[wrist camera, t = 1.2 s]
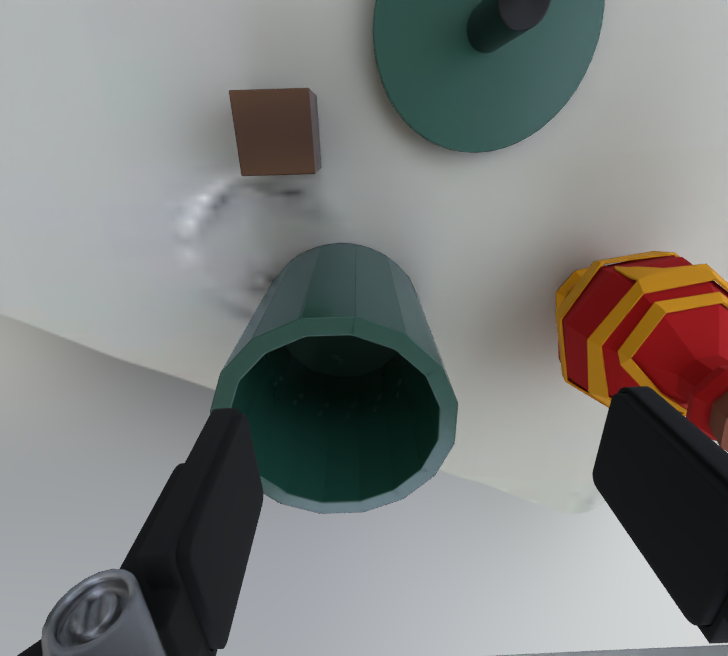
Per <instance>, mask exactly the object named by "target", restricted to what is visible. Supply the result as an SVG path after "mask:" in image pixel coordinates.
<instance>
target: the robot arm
mask: <svg viewBox="0 0 728 656" xmlns="http://www.w3.org/2000/svg"><path fill="white" fill-rule="evenodd" d="M593 481H594V484H595V486H596V488H597V489H598V491H599V492H600V493H601V495H602V496H603V498H604V499H605V501H606V502H607V503H608V505H609V507H610V508H611V510H612V511H613V512H614V514H615V515H616V517H617V518H618V520H619V521H620V523H621V524H622V526H623V527H624V528H625V530H626V531H627V533H628V534H629V536H630V537H631V538H632V540H633V542H634V543H635V545H636V546H637V547H638V549H639V550H640V552H641V553H642V555H643V556H644V558H645V559H646V561H647V562H648V564H649V565H650V567H651V568H652V569H653V571H654V572H655V574H656V575H657V577H658V578H659V580H660V581H661V583H662V584H663V585H664V587H665V588H666V590H667V591H668V593H669V594H670V596H671V597H672V599H673V600H674V601H675V603H676V605H677V606H678V607H679V609H680V610H681V612H682V613H683V615H684V616H685V617H686V618H687V620H688V621H689V622H691V623H692V624H693V625H697V626H698V627H699V629H700V630H701V632H702V633H703V634H704V636H705V638H706V639H707V640H708V642H709V643H728V453H727V452H726V451H725V450H723V449H722V448H721V447H720V446H719V445H717V444H716V443H715V442H714V441H713V440H712V439H710V438H709V437H708V436H707V435H706V434H705V433H703V432H702V431H701V430H700V429H699V428H698V427H696V426H695V425H694V424H693V423H692V422H691V421H689V420H688V419H687V418H686V417H685V416H683V415H682V414H681V413H680V412H679V411H678V410H676V409H675V408H674V407H673V406H672V405H671V404H669V403H668V402H667V401H666V400H665V399H664V398H662V397H661V396H660V395H659V394H658V393H656V392H655V391H654V390H653V389H652V388H650V387H648V386H636V387H623V388H621V389H620V390H619V391H618V393H616V394H614V395H613V396H612V399H611V403H610V407H609V410H608V414H607V418H606V422H605V426H604V430H603V434H602V438H601V442H600V445H599V449H598V453H597V457H596V461H595V465H594V469H593ZM262 503H263V487H262V483H261V478H260V474H259V469H258V464H257V460H256V455H255V451H254V446H253V441H252V437H251V432H250V428H249V423H248V418H247V415H246V413H240V411H239V409H238V408H219V409H214V410H213V411H212V412H211V414H210V416H209V418H208V420H207V422H206V424H205V426H204V428H203V429H202V431H201V433H200V435H199V437H198V439H197V441H196V443H195V445H194V447H193V449H192V451H191V452H190V454H189V456H188V458H187V460H186V462H185V463H182V464H179V465H178V466H176V468H175V469H174V471H173V473H172V474H171V476H170V478H169V479H168V481H167V483H166V485H165V487H164V489H163V491H162V492H161V494H160V496H159V498H158V500H157V501H156V503H155V505H154V507H153V509H152V511H151V512H150V514H149V516H148V518H147V520H146V522H145V523H144V525H143V527H142V529H141V531H140V533H139V534H138V536H137V538H136V540H135V542H134V544H133V545H132V547H131V549H130V551H129V553H128V554H127V556H126V558H125V560H124V562H123V564H122V565H121V567H120V569H110V570H106V571H101V572H98V573H96V574H94V575H92V576H90V577H88V578H86V579H84V580H82V581H81V582H80V583H78V584H77V585H75V586H74V587H73V588H71V589H70V590H69V591H68V592H67V593H66V594H65V595H64V596H63V597H62V598H61V599H60V600H59V601H58V602H57V604H56V605H55V606H54V608H53V609H52V611H51V612H50V613H49V615H48V617H47V619H46V622H45V624H44V627H43V630H42V639H41V640H39V641H38V642H37V643H35V644H33V645H32V646H31V647H29V648H28V649H26V650H25V651H23V652H22V653H20V654H19V655H18V656H216V652H217V649H223V648H224V647H225V645H226V643H227V640H228V637H229V632H230V629H231V625H232V621H233V617H234V613H235V609H236V606H237V601H238V597H239V594H240V590H241V586H242V582H243V578H244V574H245V570H246V566H247V562H248V558H249V555H250V550H251V546H252V543H253V539H254V535H255V531H256V527H257V523H258V519H259V515H260V511H261V507H262ZM499 656H728V645H717V646H694V647H671V648H649V649H625V650H603V651H582V652H560V653H539V654H520V655H519V654H518V655H499Z"/></svg>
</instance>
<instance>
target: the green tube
mask: <svg viewBox="0 0 728 656" xmlns="http://www.w3.org/2000/svg"><path fill="white" fill-rule="evenodd" d="M219 408H238V409H239V411H240V413H246V415H247V418H248V423H249V428H250V432H251V437H252V441H253V446H254V451H255V455H256V460H257V464H258V469H259V474H260V478H261V483H262V487H263V494H265V495H267V496H268V497H270V498H272V499H274V500H275V501H277V502H279V503H280V504H284V505H288V506H292V507H296V508H300V509H304V510H308V511H312V512H316V513H322V514H325V513H352V512H354V513H355V512H365V511H368V510H371V509H374V508H378V507H381V506H383V505H387V504H390V503H393V502H396V501H399V500H401V499H404V498H405V497H407V496H408V495H409V494H410V493H412V492H413V491H415V490H416V489H417V488H419V487H420V486H421V485H423V484H424V483H425V482H427V481H428V480H429V479H431V478H432V477H433V476H434V475H435V474H436V473H437V471H438V470H439V468H440V466H441V465H442V463H443V461H444V460H445V458H446V457H447V455H448V453H449V452H450V450H451V448H452V447H453V445H454V443H455V442H454V441H455V434H456V423H457V411H458V402H457V399H456V396H455V394H454V391H453V388H452V386H451V383H450V380H449V378H448V375H447V372H446V370H445V367H444V365H443V362H442V359H441V357H440V354H439V351H438V349H437V346H436V343H435V341H434V338H433V335H432V333H431V330H430V328H429V325H428V322H427V320H426V317H425V314H424V312H423V309H422V306H421V304H420V301H419V299H418V297H417V294H416V292H415V289H414V287H413V285H412V282H411V280H410V278H409V277H408V276H407V275H406V274H405V272H404V271H403V270H402V269H401V268H400V267H399V266H398V265H397V264H396V263H395V262H394V261H392V260H391V259H390V258H388V257H387V256H386V255H384V254H382V253H380V252H378V251H376V250H373V249H371V248H368V247H365V246H361V245H356V244H348V243H336V244H328V245H323V246H319V247H316V248H313V249H311V250H308V251H306V252H304V253H302V254H301V255H299V256H297V257H296V258H294V259H293V260H291V261H290V263H289V264H288V265H287V266H286V267H285V268H283V270H282V271H281V272H280V274H279V275H278V276H277V277H276V278H275V279H274V281H273V282H272V284H271V285H270V287H269V289H268V291H267V292H266V294H265V296H264V298H263V299H262V301H261V303H260V305H259V306H258V308H257V310H256V312H255V313H254V315H253V317H252V319H251V320H250V322H249V324H248V326H247V327H246V329H245V331H244V333H243V334H242V336H241V338H240V340H239V341H238V343H237V345H236V347H235V348H234V350H233V352H232V354H231V355H230V357H229V359H228V361H227V362H226V364H225V366H224V368H223V369H222V371H221V373H220V376H219V380H218V384H217V387H216V391H215V395H214V399H213V402H212V406H211V410H210V414H211V412H212V411H213V410H214V409H219Z"/></svg>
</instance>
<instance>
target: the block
mask: <svg viewBox="0 0 728 656" xmlns="http://www.w3.org/2000/svg"><path fill="white" fill-rule="evenodd" d="M229 95H230V102H231V108H232V115H233V122H234V128H235V135H236V142H237V148H238V155H239V162H240V168H241V175H242V176H260V175H292V174H315V173H317V172H318V171H319V170H320V169H321V155H320V140H319V126H318V111H317V97H316V95H315V94H314V93H313V92H312V91H311V90H310V89H309V88H290V89H258V90H230V91H229Z"/></svg>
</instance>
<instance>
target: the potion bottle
mask: <svg viewBox="0 0 728 656" xmlns="http://www.w3.org/2000/svg"><path fill="white" fill-rule="evenodd" d="M623 261H625V262H623ZM615 262H621V263H616V264H611V265H607V266H605V265H602V264H608V263H615ZM713 280H715V281H716V282H717V283H718V284H720V285H721V286H722V287H723V288H722V287H721V286H720V285H718V284H717V283H716V282H715V281H713ZM726 290H727V291H728V283H727V282H726V281H725V280H724V279H723V278H722V277H721V276H719V275H718V274H717V273H716V272H715V271H714V270H713V269H712V268H711V267H710V266H708V265H707V264H699V265H692V264H691V263H690V262H688V261H687V260H685V259H684V258H683V257H679V256H678V255H677V254H676V253H674V252H660V251H652V252H646V253H640V254H634V255H628V256H622V257H616V258H610V259H604V260H599V261H594V262H593V263H592V264H591V266H590V267H589V268H585V269H581V270H576V271H575V272H574V273H573V274H572V275H571V276H570V277H569V278H568V280H567V281H566V282H565V283H564V284H563V285H562V286H561V287H560V289H559V290H558V291H557V292H556V311H555V315H556V324H557V333H558V353H559V360H560V362H561V368H562V375H563V377H564V379H565V382H567V383H568V384H570V385H572V386H573V387H575V388H577V389H578V390H580V391H582V392H583V393H585V394H587V395H588V396H590V397H592V398H593V399H595V400H597V401H598V402H600V403H602V404H604V405H605V406H607V407H610V403H611V399H612V396H613V395H614V394H616V393H618V391H619V390H620V389H621V388H623V387H636V386H648V387H650V388H652V389H653V390H654V391H655V392H656V393H658V394H659V395H660V396H661V397H662V398H664V399H665V400H666V401H667V402H668V403H669V404H671V405H672V406H673V407H674V408H675V409H676V410H678V411H679V412H680V413H681V414H682V415H683V416H686V418H687V419H688V420H689V421H691V422H692V423H693V424H694V425H695V426H696V427H698V428H699V429H700V430H701V431H702V432H703V433H705V434H706V435H707V436H708V437H709V438H710V439H712V440H715V441H717V442H718V444H719V446H720V447H721V448H722V449H724V450H726V451H727V452H728V292H727V291H726ZM582 386H583V387H582ZM585 388H586V389H585Z"/></svg>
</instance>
